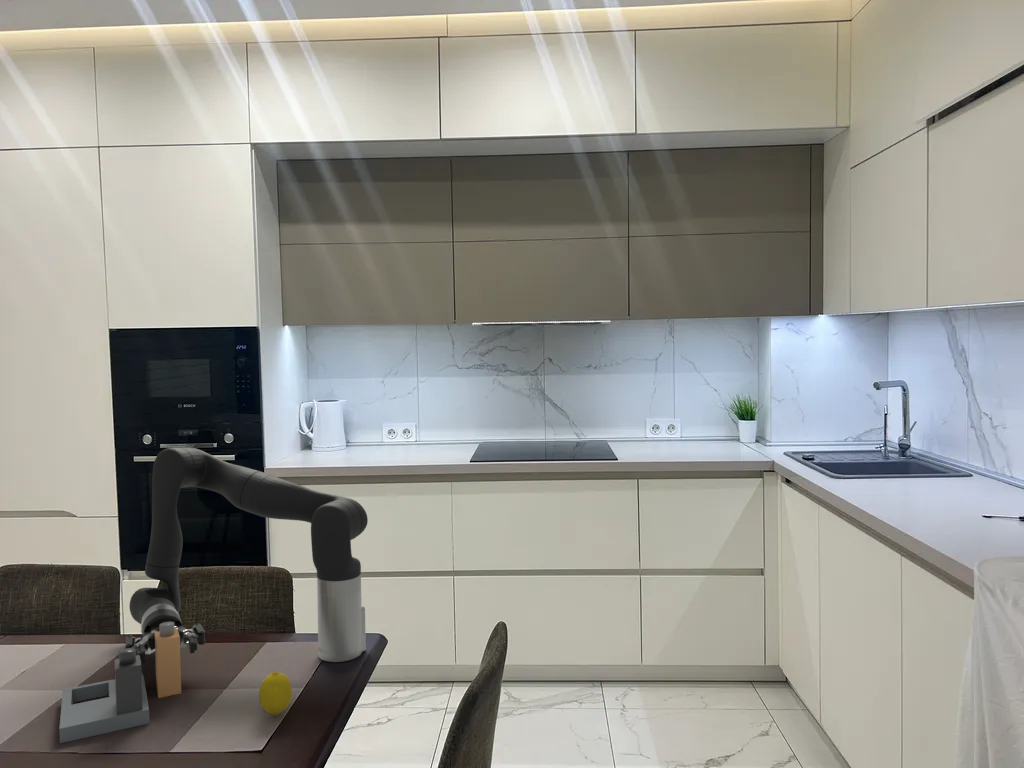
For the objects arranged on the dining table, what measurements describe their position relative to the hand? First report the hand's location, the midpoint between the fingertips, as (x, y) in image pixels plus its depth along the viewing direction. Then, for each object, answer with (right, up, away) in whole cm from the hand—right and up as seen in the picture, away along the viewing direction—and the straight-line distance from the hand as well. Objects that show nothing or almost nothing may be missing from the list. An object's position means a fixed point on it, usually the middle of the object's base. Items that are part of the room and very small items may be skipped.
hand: (168, 652), depth 143 cm
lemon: (+23, -8, -8) cm, 26 cm away
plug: (-1, -8, +2) cm, 8 cm away
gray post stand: (-8, -8, -7) cm, 14 cm away
